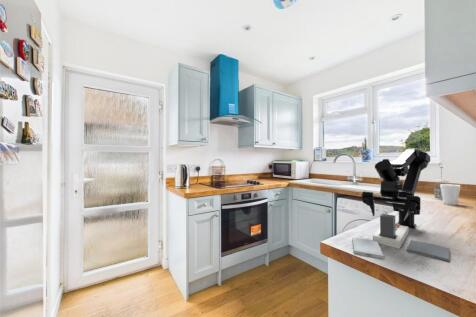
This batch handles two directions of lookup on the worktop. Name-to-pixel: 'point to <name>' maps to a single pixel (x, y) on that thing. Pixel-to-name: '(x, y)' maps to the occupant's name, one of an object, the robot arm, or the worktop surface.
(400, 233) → the power strip
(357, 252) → the hard drive
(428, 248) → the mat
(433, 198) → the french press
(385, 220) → the block
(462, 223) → the worktop surface
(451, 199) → the foam cup
